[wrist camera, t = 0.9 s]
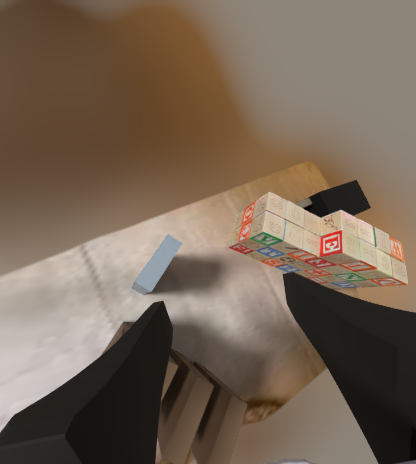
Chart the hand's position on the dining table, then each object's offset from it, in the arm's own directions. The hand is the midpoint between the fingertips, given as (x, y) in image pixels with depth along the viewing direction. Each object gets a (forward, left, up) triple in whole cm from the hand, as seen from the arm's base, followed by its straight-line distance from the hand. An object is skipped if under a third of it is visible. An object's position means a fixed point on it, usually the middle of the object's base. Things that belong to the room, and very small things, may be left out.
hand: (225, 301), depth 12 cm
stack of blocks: (+19, -10, -17) cm, 27 cm away
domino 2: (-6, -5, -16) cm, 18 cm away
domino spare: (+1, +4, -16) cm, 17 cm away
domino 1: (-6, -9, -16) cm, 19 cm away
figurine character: (+31, -12, -17) cm, 37 cm away
